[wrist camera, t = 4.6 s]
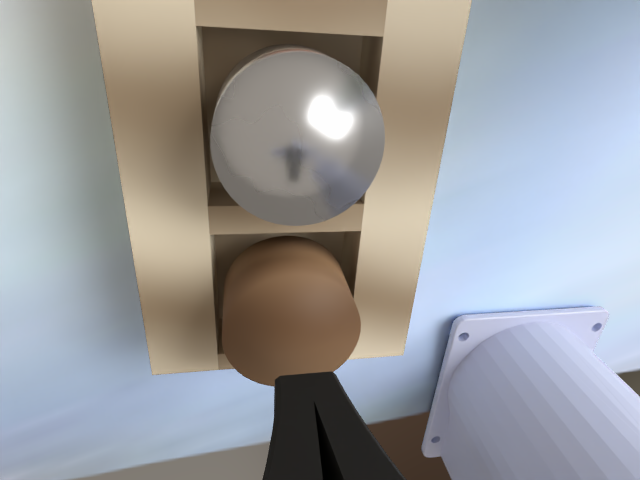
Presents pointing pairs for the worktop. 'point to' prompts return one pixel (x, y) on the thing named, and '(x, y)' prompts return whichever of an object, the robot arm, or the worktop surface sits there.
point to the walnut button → (287, 310)
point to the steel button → (295, 135)
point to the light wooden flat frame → (208, 192)
